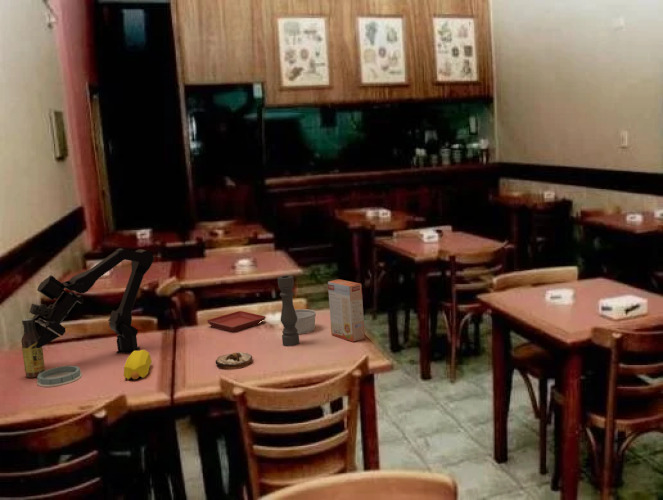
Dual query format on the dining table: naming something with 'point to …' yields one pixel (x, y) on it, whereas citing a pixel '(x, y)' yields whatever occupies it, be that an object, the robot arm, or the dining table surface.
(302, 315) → the ramekin
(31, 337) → the sauce bottle
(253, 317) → the plant saucer
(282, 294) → the candle holder
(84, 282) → the robot arm
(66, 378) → the ring collar
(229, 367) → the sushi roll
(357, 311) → the cracker box
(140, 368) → the yellow faceted rock
